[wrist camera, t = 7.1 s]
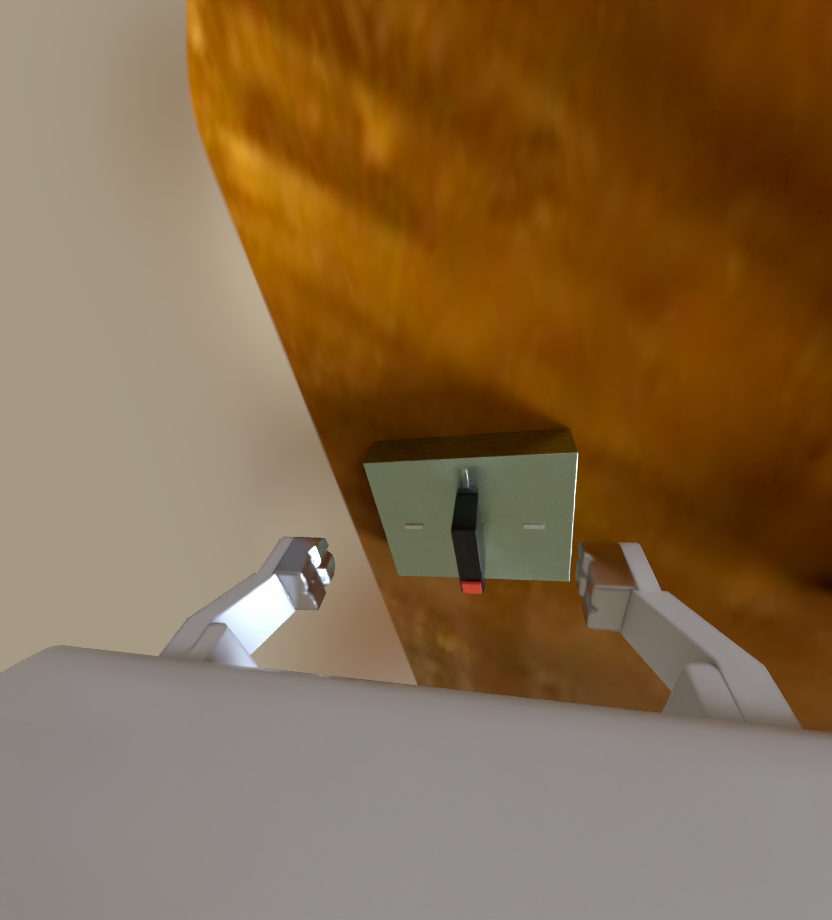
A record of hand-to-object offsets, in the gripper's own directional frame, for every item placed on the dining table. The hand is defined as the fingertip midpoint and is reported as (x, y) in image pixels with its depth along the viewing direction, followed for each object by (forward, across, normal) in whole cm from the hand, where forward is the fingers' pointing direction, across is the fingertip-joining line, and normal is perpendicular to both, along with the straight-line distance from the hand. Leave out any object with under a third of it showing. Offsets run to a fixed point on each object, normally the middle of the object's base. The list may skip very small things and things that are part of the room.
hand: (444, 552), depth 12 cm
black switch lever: (+12, 0, +10) cm, 15 cm away
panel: (+15, 0, +10) cm, 18 cm away
